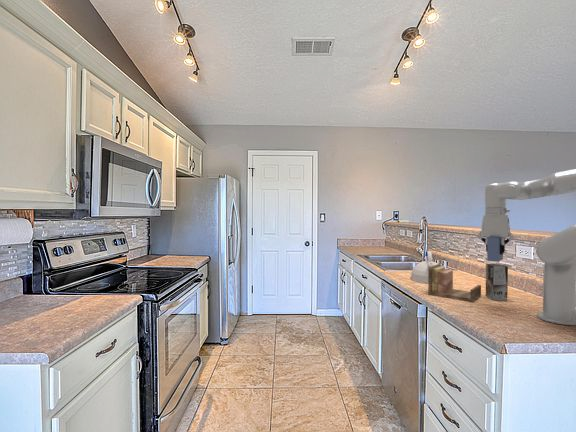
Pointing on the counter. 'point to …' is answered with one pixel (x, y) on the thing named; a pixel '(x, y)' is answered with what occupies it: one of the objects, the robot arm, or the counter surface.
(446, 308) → the counter surface
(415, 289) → the counter surface
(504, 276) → the coffee box
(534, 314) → the counter surface
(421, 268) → the kettle
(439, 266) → the book rack
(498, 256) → the navy book
